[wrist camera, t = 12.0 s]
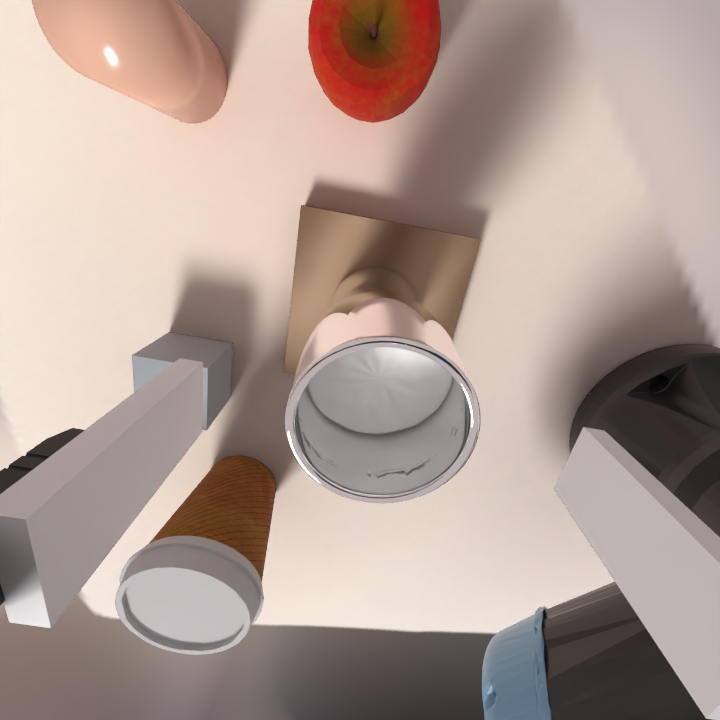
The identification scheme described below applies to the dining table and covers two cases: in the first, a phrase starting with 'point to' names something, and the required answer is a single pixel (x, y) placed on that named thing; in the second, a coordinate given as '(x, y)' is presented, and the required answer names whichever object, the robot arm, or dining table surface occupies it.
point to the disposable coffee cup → (203, 564)
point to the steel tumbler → (380, 395)
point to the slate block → (191, 348)
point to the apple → (374, 53)
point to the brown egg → (139, 52)
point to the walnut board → (373, 249)
